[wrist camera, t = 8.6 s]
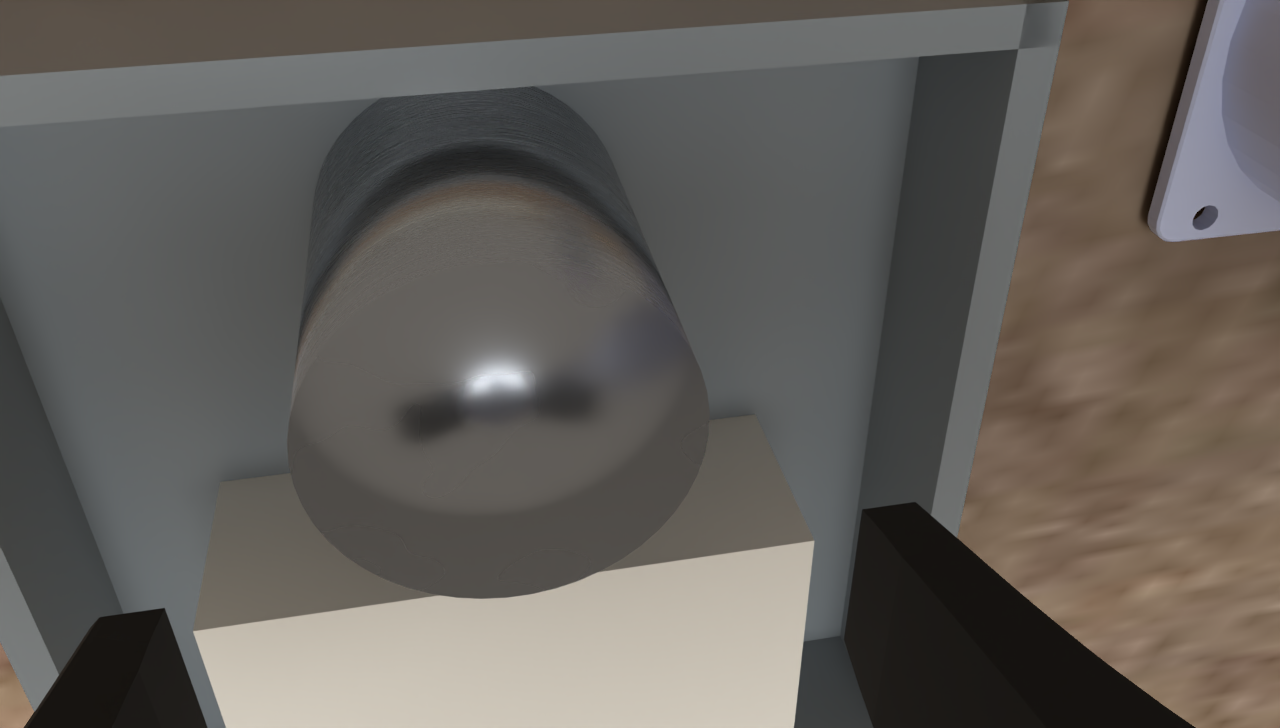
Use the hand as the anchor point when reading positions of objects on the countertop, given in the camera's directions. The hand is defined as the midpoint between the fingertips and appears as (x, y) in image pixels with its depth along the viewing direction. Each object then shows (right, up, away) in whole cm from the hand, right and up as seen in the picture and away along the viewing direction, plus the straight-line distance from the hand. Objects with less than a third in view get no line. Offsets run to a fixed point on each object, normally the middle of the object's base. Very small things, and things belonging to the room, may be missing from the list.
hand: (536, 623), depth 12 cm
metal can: (-2, +5, +6) cm, 8 cm away
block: (-1, -1, +11) cm, 11 cm away
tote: (-2, +2, +10) cm, 10 cm away
